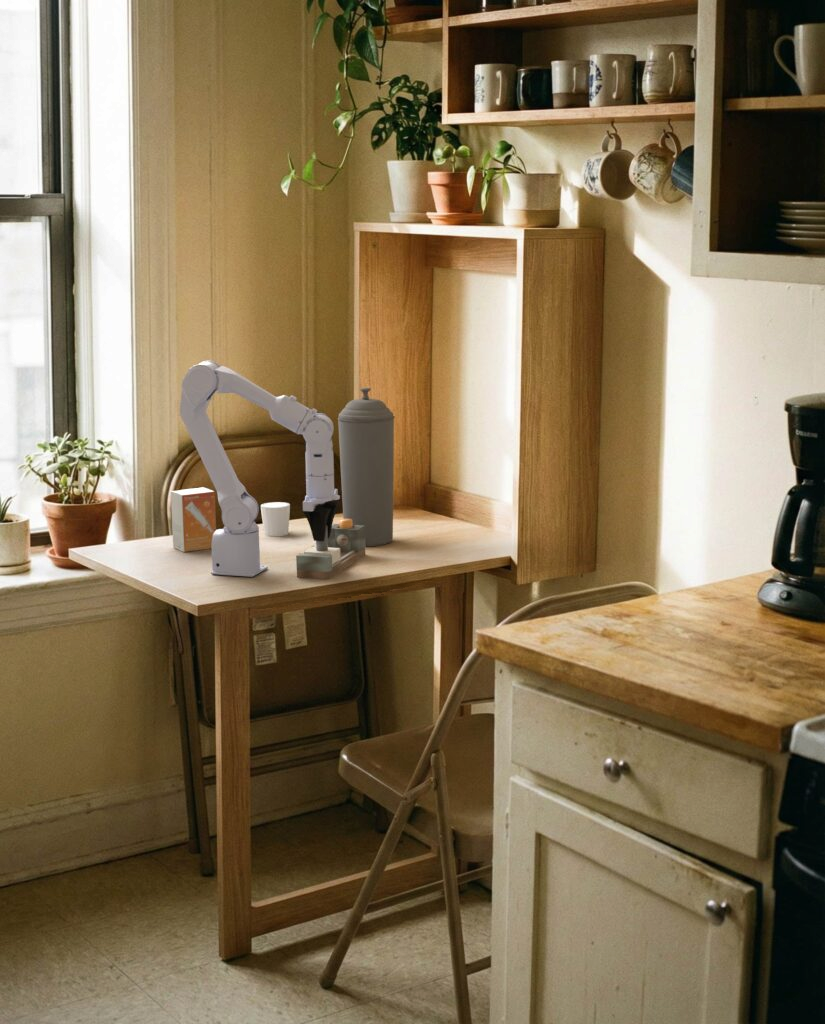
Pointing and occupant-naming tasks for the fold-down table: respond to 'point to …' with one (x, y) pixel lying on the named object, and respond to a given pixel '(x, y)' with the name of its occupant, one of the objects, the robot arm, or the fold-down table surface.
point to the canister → (368, 466)
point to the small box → (193, 518)
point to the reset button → (346, 523)
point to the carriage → (325, 549)
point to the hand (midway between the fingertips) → (321, 539)
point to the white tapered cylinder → (275, 518)
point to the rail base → (322, 565)
